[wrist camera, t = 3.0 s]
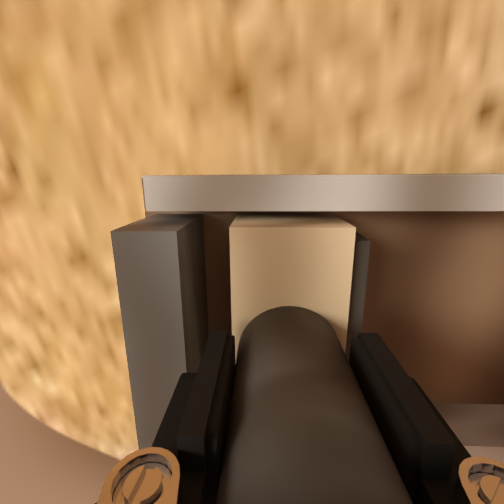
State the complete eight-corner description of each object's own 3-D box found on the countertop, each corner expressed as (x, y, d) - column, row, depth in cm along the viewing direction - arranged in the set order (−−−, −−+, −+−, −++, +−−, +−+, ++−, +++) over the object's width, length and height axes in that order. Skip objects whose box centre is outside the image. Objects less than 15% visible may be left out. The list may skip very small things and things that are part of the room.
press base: (696, 172, 13) (1247, 171, 6) (611, 405, 16) (895, 595, 9) (154, 174, 14) (34, 177, 7) (173, 395, 17) (106, 560, 10)
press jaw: (348, 214, 12) (633, 353, 3) (334, 398, 14) (463, 809, 5) (237, 214, 12) (155, 345, 3) (240, 396, 15) (200, 790, 5)
